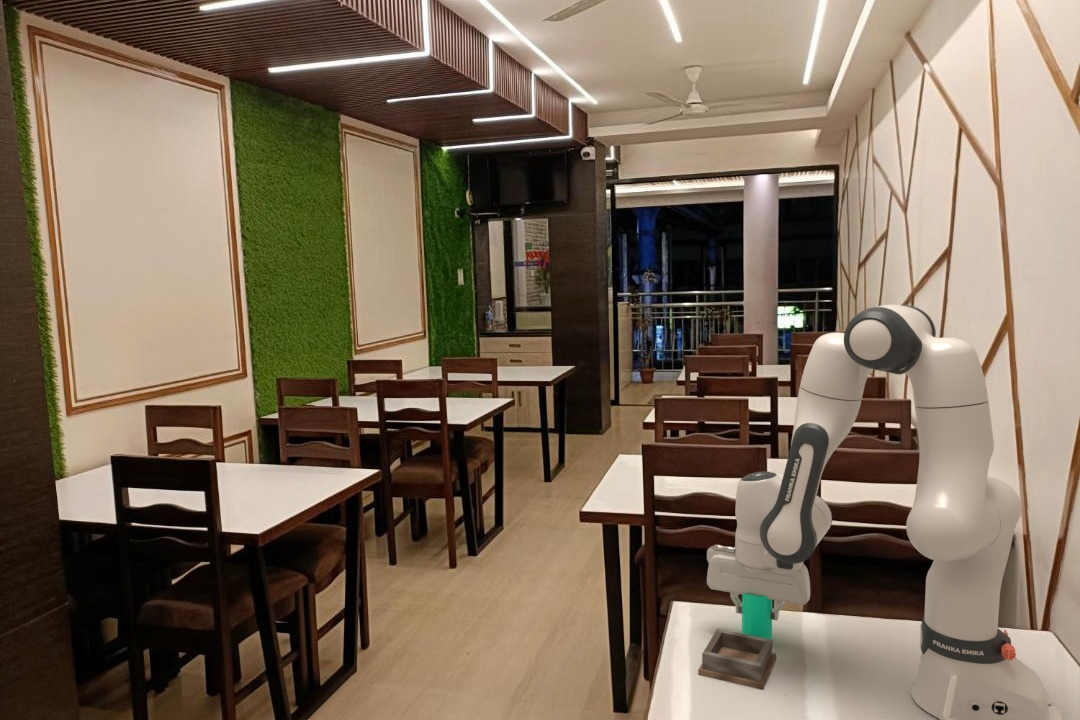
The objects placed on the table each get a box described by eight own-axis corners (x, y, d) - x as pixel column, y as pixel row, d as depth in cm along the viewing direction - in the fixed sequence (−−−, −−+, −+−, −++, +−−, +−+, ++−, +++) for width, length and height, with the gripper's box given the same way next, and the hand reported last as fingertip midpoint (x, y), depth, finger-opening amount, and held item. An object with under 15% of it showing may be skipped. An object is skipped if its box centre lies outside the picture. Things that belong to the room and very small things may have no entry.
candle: (765, 649, 154) (766, 592, 152) (737, 641, 157) (737, 585, 156) (776, 637, 158) (777, 581, 157) (748, 629, 162) (748, 575, 160)
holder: (776, 658, 150) (776, 638, 150) (763, 689, 140) (763, 668, 139) (715, 645, 156) (715, 626, 155) (698, 674, 145) (698, 654, 145)
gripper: (702, 548, 157) (702, 612, 159) (807, 564, 148) (806, 632, 150) (711, 538, 163) (711, 600, 165) (812, 553, 153) (811, 618, 155)
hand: (757, 615), depth 157 cm, fingers closed on candle, 5 cm apart
